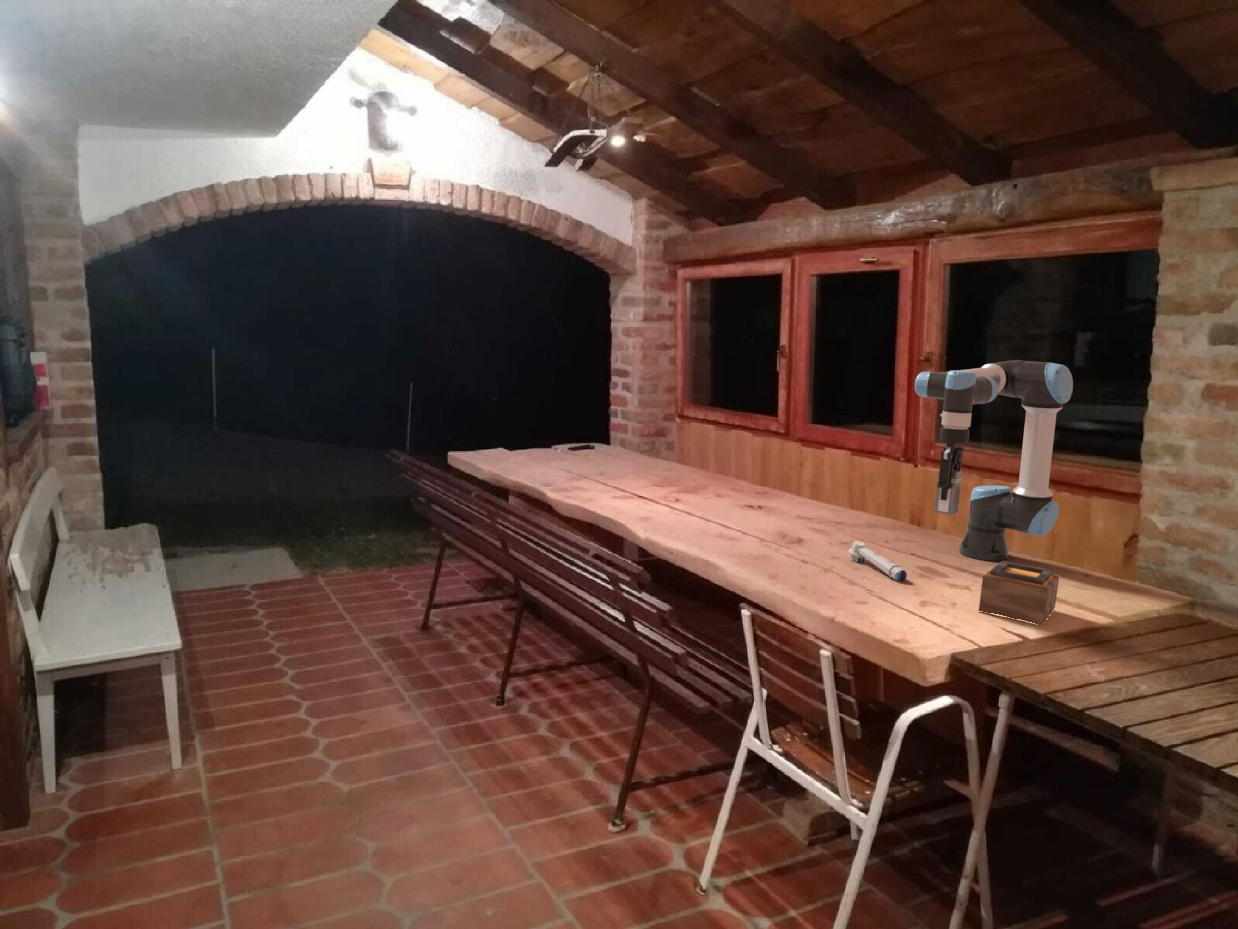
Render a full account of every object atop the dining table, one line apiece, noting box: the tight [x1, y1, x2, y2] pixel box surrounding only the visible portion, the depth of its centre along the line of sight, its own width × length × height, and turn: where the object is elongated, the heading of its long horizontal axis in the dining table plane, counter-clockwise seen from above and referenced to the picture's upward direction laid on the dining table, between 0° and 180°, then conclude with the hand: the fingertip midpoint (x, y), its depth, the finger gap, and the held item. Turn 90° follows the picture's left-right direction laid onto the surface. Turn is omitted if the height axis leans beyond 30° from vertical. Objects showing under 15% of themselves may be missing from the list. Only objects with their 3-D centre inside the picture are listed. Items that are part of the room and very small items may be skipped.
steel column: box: [933, 469, 963, 516], centre depth 254 cm, size 5×5×12 cm
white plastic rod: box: [847, 540, 908, 583], centre depth 281 cm, size 5×7×25 cm
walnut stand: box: [978, 560, 1060, 627], centre depth 246 cm, size 16×16×12 cm
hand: (946, 509), depth 255 cm, fingers closed on steel column, 5 cm apart
